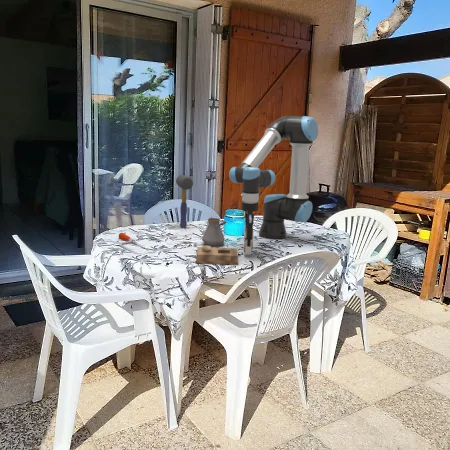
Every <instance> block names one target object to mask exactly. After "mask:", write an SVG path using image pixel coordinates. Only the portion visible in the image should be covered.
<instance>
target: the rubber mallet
mask: <svg viewBox="0 0 450 450" xmlns="http://www.w3.org/2000/svg"><path fill="white" fill-rule="evenodd" d="M175 183H176V185H177V186H178V187H179V188H180V189H181V202H180V208H179V209H180V211H179V212H180V221H179V226H180V228H182V229H185V228H187V225H188V224H187V215H188V206H187V205H188V204H187V190H190V189H192V187H193V186H194V180H193V179H192V178H191V177H190V176H188V175H183V174H180V175H177V177H176V178H175Z"/></svg>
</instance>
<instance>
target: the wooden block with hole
mask: <svg viewBox="0 0 450 450" xmlns="http://www.w3.org/2000/svg"><path fill="white" fill-rule="evenodd" d="M196 247H197V248H196V249H197V250H196V257H195V258H196V260H195V261H196V262H195V264H204V265H205V264H208V265H228V266H229V265H231V266H232V265H236V266H238V264H239V253H238V248H234V247H233V248H232V247H229V248H228V247H212V246H208V245H206V244H205V245H202V246H201V247H200V246H196Z"/></svg>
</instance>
